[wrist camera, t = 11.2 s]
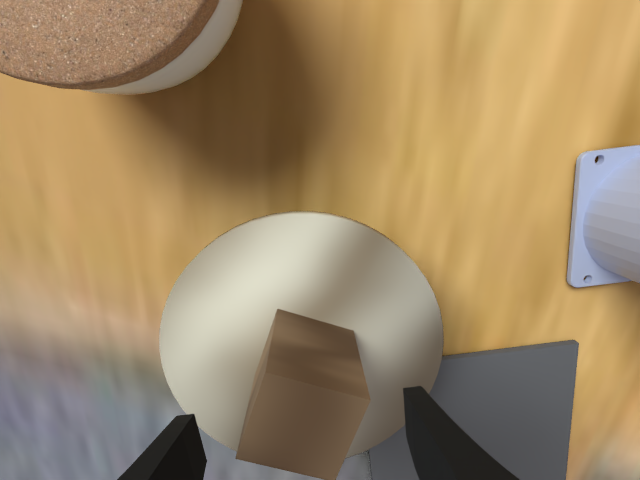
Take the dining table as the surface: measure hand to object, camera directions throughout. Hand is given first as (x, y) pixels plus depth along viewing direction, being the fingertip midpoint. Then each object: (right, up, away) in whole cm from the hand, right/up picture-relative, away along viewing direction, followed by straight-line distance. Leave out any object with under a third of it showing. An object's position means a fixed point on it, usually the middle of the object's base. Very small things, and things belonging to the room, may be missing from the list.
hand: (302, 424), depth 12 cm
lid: (0, +1, +5) cm, 5 cm away
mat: (+11, -8, +12) cm, 18 cm away
